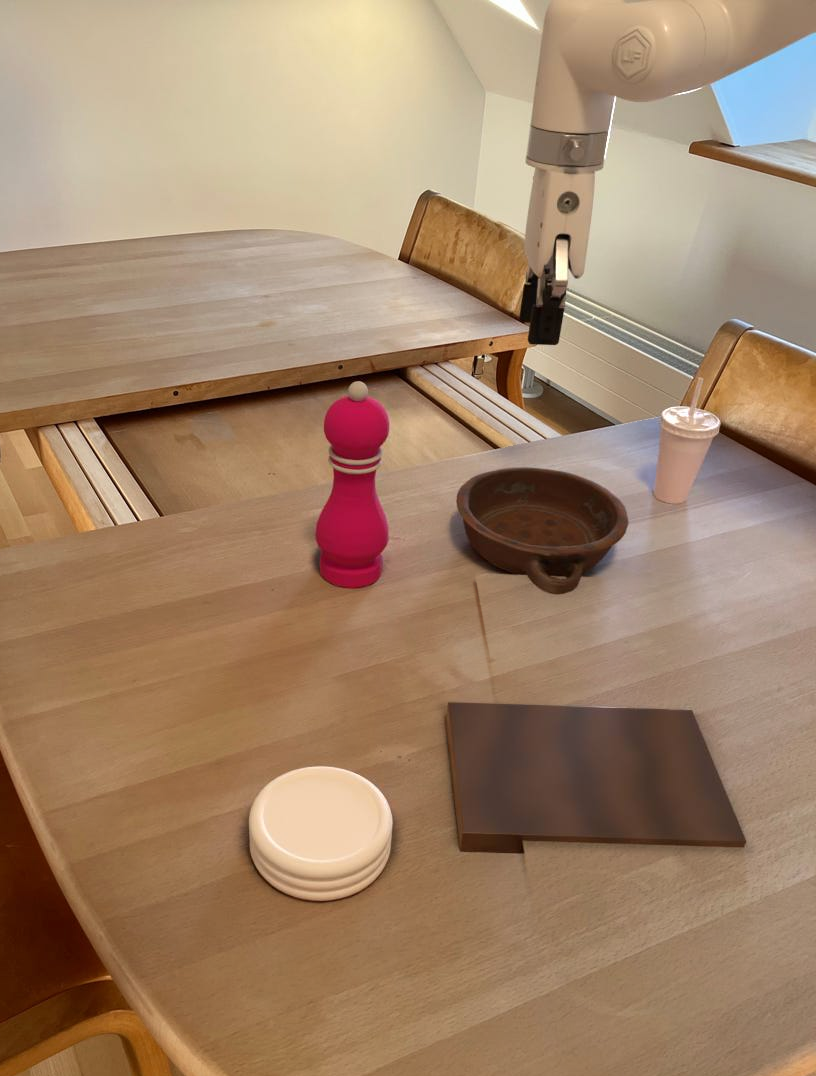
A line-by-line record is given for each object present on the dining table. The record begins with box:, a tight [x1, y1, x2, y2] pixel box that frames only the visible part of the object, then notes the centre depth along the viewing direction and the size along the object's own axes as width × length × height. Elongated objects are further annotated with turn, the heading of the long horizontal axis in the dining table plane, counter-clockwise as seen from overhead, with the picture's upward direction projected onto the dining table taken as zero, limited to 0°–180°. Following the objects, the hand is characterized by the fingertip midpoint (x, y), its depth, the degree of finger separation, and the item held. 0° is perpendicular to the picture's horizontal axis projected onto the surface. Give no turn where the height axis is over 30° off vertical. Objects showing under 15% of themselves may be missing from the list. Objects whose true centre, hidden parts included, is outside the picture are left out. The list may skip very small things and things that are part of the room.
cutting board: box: [445, 701, 747, 854], centre depth 74 cm, size 20×14×2 cm
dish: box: [455, 466, 629, 595], centre depth 101 cm, size 17×22×5 cm
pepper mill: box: [314, 380, 390, 589], centre depth 92 cm, size 7×7×20 cm
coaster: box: [248, 765, 394, 902], centre depth 68 cm, size 10×10×4 cm
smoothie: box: [653, 377, 722, 505], centre depth 108 cm, size 6×6×14 cm
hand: (538, 331), depth 104 cm, fingers open, 5 cm apart
